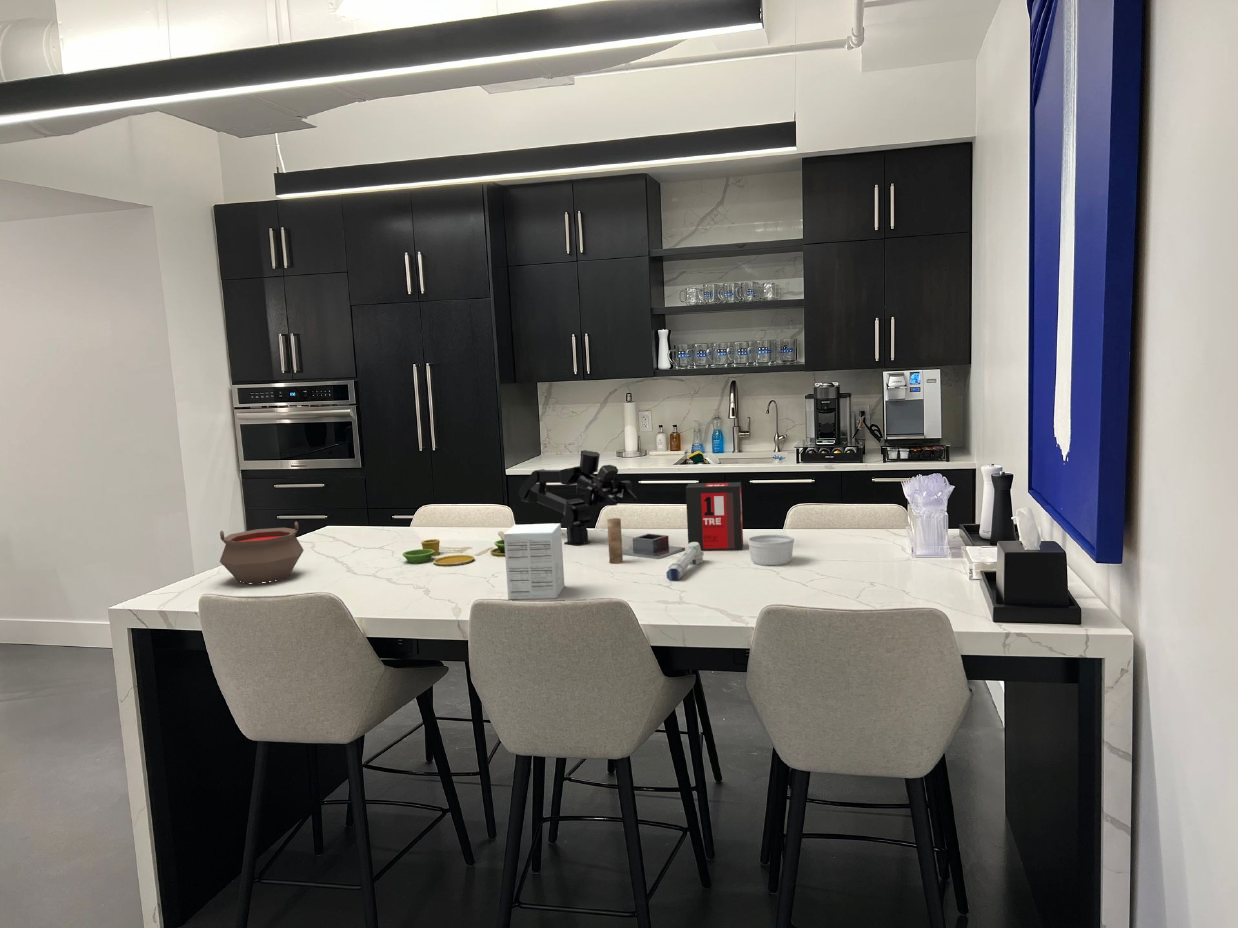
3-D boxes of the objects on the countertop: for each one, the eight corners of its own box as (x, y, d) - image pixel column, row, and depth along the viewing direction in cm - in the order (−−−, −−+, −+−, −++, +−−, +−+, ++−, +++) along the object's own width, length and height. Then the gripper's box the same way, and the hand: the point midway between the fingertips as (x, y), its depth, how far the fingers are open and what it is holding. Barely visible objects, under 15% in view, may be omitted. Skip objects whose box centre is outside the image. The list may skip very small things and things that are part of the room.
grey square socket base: (617, 553, 288) (616, 538, 287) (644, 545, 299) (643, 530, 298) (658, 558, 278) (657, 543, 277) (685, 549, 288) (684, 534, 288)
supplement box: (517, 587, 252) (513, 524, 250) (565, 585, 251) (561, 522, 249) (507, 600, 239) (502, 533, 237) (557, 598, 238) (553, 532, 236)
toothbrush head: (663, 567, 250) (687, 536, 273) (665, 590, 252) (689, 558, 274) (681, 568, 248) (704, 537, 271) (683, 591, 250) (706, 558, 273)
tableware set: (550, 550, 302) (549, 531, 301) (514, 570, 276) (512, 549, 275) (439, 548, 315) (437, 530, 314) (394, 566, 289) (393, 547, 288)
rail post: (606, 562, 276) (604, 520, 275) (615, 560, 279) (613, 517, 278) (617, 564, 274) (614, 521, 272) (625, 561, 277) (623, 518, 275)
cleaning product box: (688, 551, 286) (685, 487, 284) (691, 545, 295) (688, 483, 293) (742, 550, 283) (739, 486, 281) (743, 544, 292) (740, 482, 290)
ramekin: (749, 556, 274) (749, 534, 274) (795, 556, 272) (794, 533, 271) (746, 567, 261) (746, 543, 261) (794, 567, 259) (793, 542, 258)
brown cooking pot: (225, 593, 263) (219, 536, 262) (218, 577, 285) (213, 525, 283) (312, 579, 274) (307, 525, 272) (299, 565, 296) (295, 515, 294)
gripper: (575, 464, 290) (610, 480, 280) (617, 459, 303) (651, 474, 293) (570, 497, 293) (604, 514, 283) (612, 491, 306) (645, 507, 296)
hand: (627, 501), depth 288 cm, fingers open, 9 cm apart
